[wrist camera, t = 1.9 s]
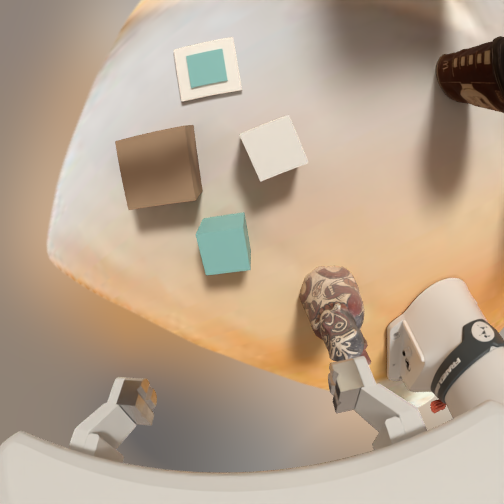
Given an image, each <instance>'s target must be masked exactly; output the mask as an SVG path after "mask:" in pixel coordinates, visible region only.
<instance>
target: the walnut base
mask: <svg viewBox="0 0 504 504" xmlns="http://www.w3.org/2000/svg"><path fill="white" fill-rule="evenodd" d="M115 143H116V149H117V155H118V161H119V166H120V172H121V177H122V182H123V187H124V191H125V196H126V200H127V205H128V209H129V210H133V209H139V208H145V207H152V206H159V205H166V204H173V203H180V202H188V201H196V199H197V198H198V196H199V195H200V194H201V192H202V184H201V177H200V170H199V163H198V156H197V149H196V141H195V134H194V126H193V125H188V126H180V127H175V128H170V129H165V130H160V131H155V132H151V133H147V134H142V135H138V136H134V137H130V138H126V139H122V140H119V141H115Z"/></svg>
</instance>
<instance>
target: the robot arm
mask: <svg viewBox="0 0 504 504" xmlns="http://www.w3.org/2000/svg"><path fill="white" fill-rule="evenodd" d="M329 369H330V373H329V375H328V383H329V389H330V393H331V394H332V395H334V397H333V404H334V407H335V412H336V413H341V412H345V411H350V410H355V411H356V412H357V413H358V414H359V415H360V416H361V417H362V418H364V419H365V420H366V421H367V422H368V423H369V424H370V425H372V426H373V427H374V428H375V429H376V430H377V431H378V432H379V434H378V435H377V437H376V439H375V440H374V442H373V444H372V445H373V448H374V450H373V451H370V452H367V453H363V454H360V455H355V456H352V457H348V458H343V459H339V460H335V461H330V462H325V463H320V464H315V465H309V466H303V467H296V468H288V469H280V470H271V471H257V472H235V473H211V472H188V471H176V470H166V469H157V468H150V467H143V466H137V465H131V464H126V463H123V459H124V457H123V455H122V454H120V453H119V452H118V451H117V450H116V449H117V448H118V447H119V445H120V444H121V443H122V442H123V441H124V440H125V438H126V437H127V436H128V435H129V434H130V432H131V431H132V430H133V429H134V428H135V426H136V424H138V425H152V422H153V418H154V413H153V411H152V410H153V409H154V408H155V407H156V403H157V396H156V392H155V390H154V389H153V388H151V387H150V386H149V381H148V380H147V379H140V378H125V377H117V378H116V379H115V382H114V385H113V387H112V390H111V393H110V396H109V399H108V401H107V403H104V404H103V405H102V406H101V407H99V409H97V410H96V411H95V412H94V413H92V414H91V415H90V416H89V417H88V418H87V419H86V420H85V421H83V422H82V423H81V424H80V425H79V426H77V427H76V428H75V430H74V433H73V436H72V439H71V442H70V445H69V448H65V447H62V446H60V445H57V444H54V443H51V442H49V441H46V440H43V439H41V438H38V437H36V436H34V435H31V434H29V433H26V432H24V431H19V432H17V433H15V434H14V435H12V436H11V437H10V438H8V439H7V440H5V441H4V442H3V443H2V444H1V446H0V504H504V340H503V338H502V337H501V336H500V334H499V333H498V332H497V330H496V329H495V328H493V327H492V326H491V325H490V324H489V323H488V321H487V320H486V318H485V316H484V315H483V313H482V312H481V310H480V309H479V307H478V305H477V302H476V300H475V299H474V298H473V297H472V295H471V293H470V291H469V290H468V287H467V285H466V284H465V282H464V281H462V280H461V279H458V278H448V279H444V280H441V281H439V282H437V283H435V284H433V285H431V286H430V287H428V288H427V289H426V290H425V291H423V292H422V293H421V294H420V295H419V296H418V297H417V298H416V299H415V300H414V301H413V302H412V304H411V305H410V306H409V307H408V309H407V310H406V311H405V312H404V313H403V314H402V315H400V316H399V317H398V318H396V319H395V320H394V321H392V322H391V323H390V324H389V325H388V327H387V377H388V379H389V380H393V381H400V380H403V381H404V383H405V385H406V387H407V389H408V390H410V391H412V392H433V393H434V394H435V395H436V396H437V397H438V398H439V400H435V401H433V402H431V410H432V412H434V413H436V412H438V411H440V410H443V409H445V407H446V405H447V407H448V409H449V411H450V413H451V415H452V417H453V419H451V420H449V421H447V422H445V423H443V424H441V425H439V426H437V427H435V428H432V429H430V430H428V431H427V429H426V427H425V424H424V422H423V419H422V417H421V415H420V413H419V410H418V408H417V407H415V406H414V405H412V404H411V403H409V402H408V401H406V400H404V399H403V398H401V397H400V396H398V395H397V394H395V393H394V392H392V391H391V390H389V389H387V388H386V387H384V386H383V385H381V384H380V383H378V384H376V382H375V379H374V377H373V375H372V372H371V370H370V368H369V365H368V363H367V360H366V358H365V357H364V356H360V357H356V358H350V359H346V360H341V361H337V362H332V363H330V366H329Z"/></svg>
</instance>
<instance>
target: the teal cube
mask: <svg viewBox="0 0 504 504" xmlns="http://www.w3.org/2000/svg"><path fill="white" fill-rule="evenodd" d="M196 238H197V242H198V246H199V250H200V254H201V258H202V262H203V265H204V269H205V273H206V275H214V274H222V273H230V272H238V271H246V270H250V264H251V249H250V243H249V237H248V231H247V225H246V219H245V213H237V214H230V215H223V216H217V217H210V218H204V219H203V220H202V222H201V224H200V226H199V229H198V231H197V233H196Z"/></svg>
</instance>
